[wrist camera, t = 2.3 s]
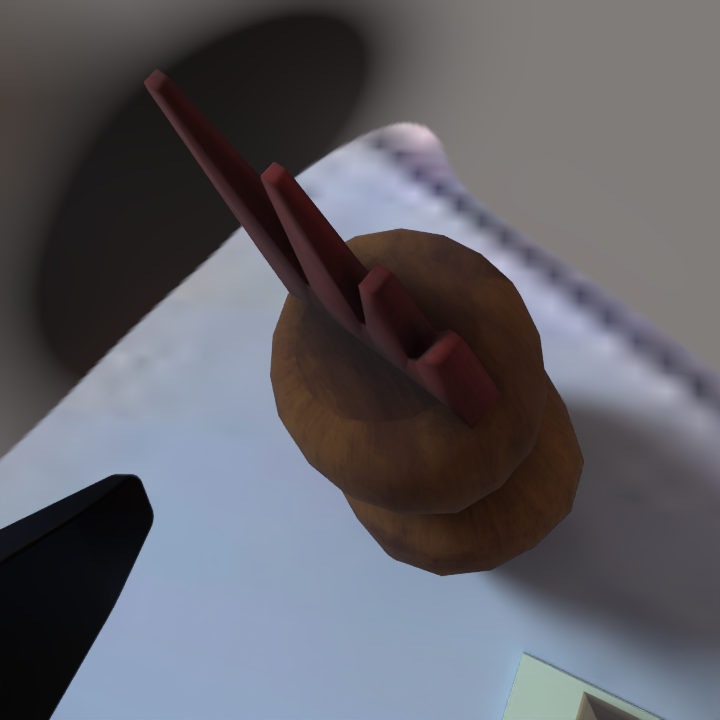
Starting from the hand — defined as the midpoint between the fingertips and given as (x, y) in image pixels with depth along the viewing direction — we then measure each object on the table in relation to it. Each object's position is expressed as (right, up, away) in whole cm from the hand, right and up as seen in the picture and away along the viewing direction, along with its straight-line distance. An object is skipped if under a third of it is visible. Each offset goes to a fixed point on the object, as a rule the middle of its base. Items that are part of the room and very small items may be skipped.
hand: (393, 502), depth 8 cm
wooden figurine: (+3, -1, +10) cm, 10 cm away
